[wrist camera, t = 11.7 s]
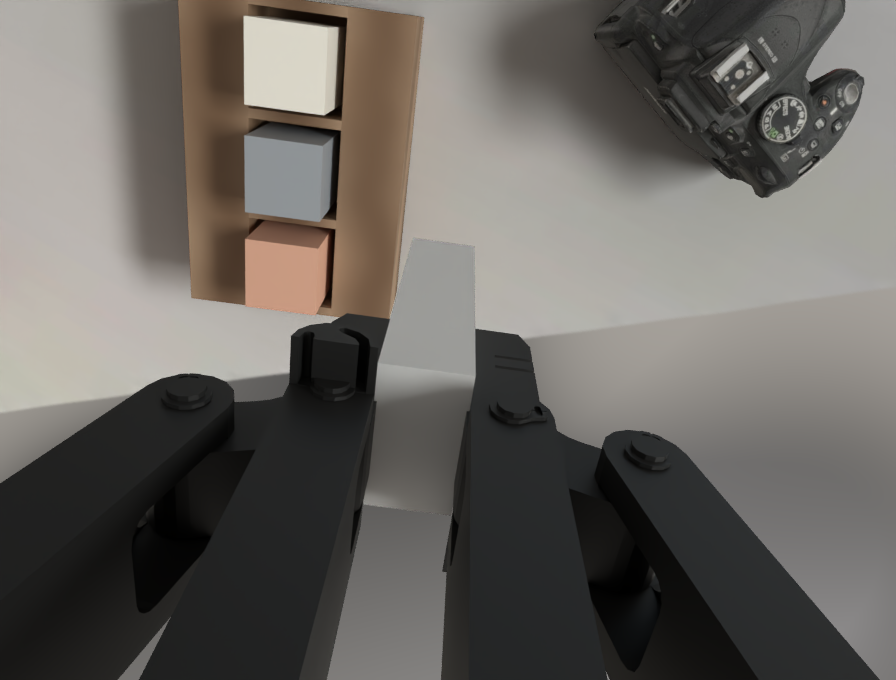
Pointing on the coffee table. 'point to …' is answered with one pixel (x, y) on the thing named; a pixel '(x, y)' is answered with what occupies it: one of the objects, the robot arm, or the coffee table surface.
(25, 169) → the coffee table surface
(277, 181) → the slate key
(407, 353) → the robot arm
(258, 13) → the wooden block tray
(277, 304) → the terracotta key
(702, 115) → the camera
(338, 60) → the cream short block
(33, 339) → the coffee table surface
